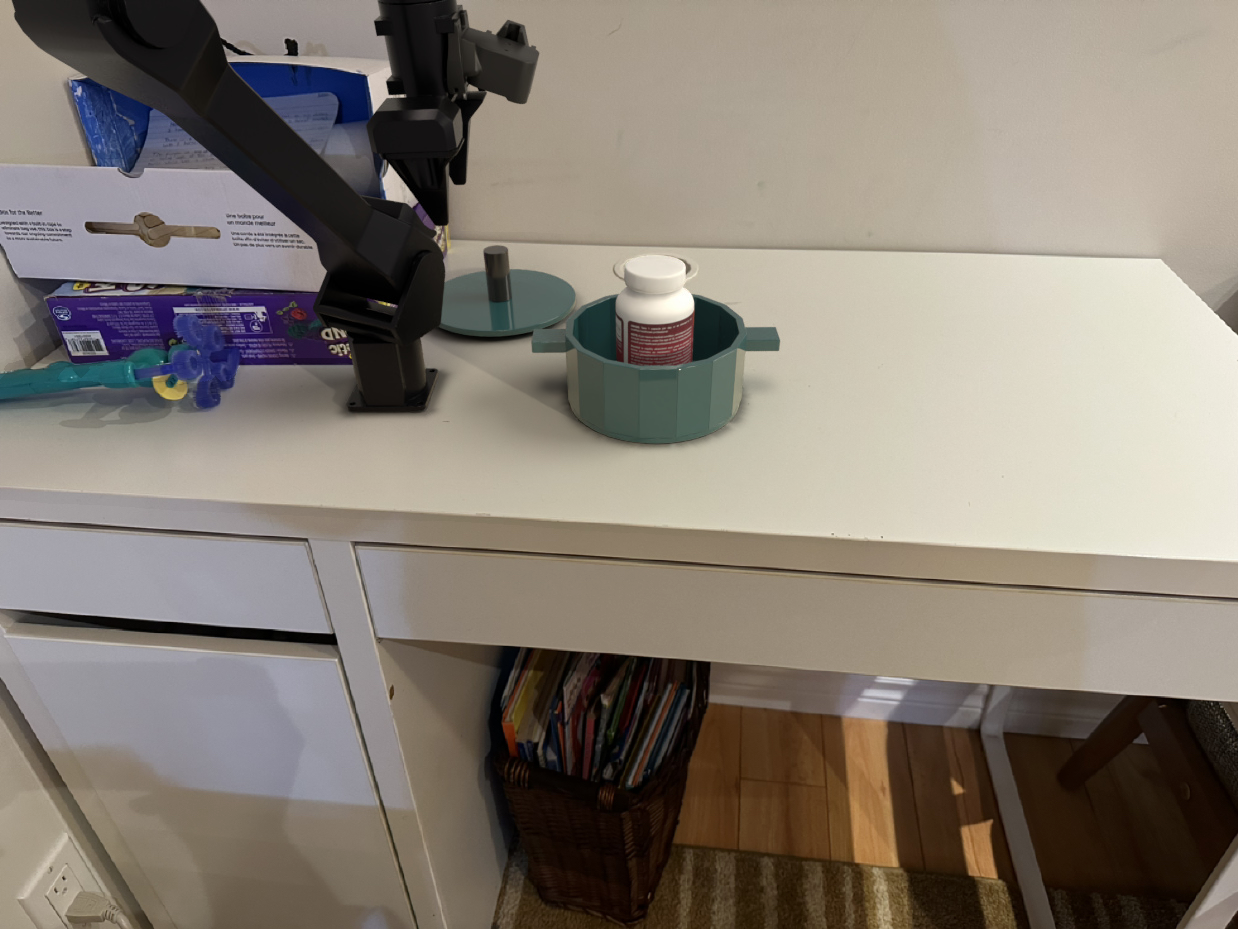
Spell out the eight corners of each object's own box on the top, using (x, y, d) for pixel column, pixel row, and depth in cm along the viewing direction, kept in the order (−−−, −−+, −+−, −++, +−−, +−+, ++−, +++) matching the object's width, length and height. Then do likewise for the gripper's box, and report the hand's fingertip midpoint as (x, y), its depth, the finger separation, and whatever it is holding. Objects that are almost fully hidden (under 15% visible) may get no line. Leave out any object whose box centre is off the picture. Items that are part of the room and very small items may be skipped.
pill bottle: (706, 391, 70) (713, 265, 64) (654, 419, 67) (656, 288, 60) (653, 366, 74) (654, 244, 67) (601, 391, 70) (598, 265, 64)
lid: (572, 341, 79) (569, 279, 75) (411, 343, 79) (400, 280, 76) (579, 278, 91) (577, 222, 88) (439, 279, 92) (431, 223, 88)
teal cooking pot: (784, 443, 65) (794, 368, 61) (529, 444, 65) (523, 370, 61) (760, 356, 76) (766, 289, 72) (543, 358, 76) (539, 291, 73)
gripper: (511, 18, 54) (536, 246, 64) (536, -29, 69) (553, 163, 79) (341, 25, 55) (391, 251, 65) (402, -22, 70) (435, 167, 79)
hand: (451, 203), depth 72 cm, fingers open, 9 cm apart
